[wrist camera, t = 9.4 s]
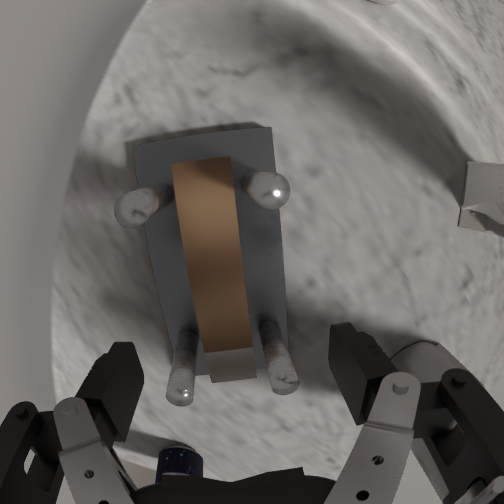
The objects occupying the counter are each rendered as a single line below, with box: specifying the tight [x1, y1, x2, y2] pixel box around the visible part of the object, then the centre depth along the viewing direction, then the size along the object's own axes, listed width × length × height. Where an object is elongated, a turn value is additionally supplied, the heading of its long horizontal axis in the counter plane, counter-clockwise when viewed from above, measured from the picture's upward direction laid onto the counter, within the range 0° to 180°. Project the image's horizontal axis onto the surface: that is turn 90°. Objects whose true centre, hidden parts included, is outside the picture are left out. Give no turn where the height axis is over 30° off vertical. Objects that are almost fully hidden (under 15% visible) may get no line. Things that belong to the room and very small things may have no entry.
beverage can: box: [155, 445, 203, 484], centre depth 24 cm, size 6×6×12 cm
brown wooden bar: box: [171, 156, 257, 383], centre depth 20 cm, size 16×4×4 cm, turn 6°
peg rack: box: [114, 127, 299, 406], centre depth 19 cm, size 10×20×8 cm, turn 6°
